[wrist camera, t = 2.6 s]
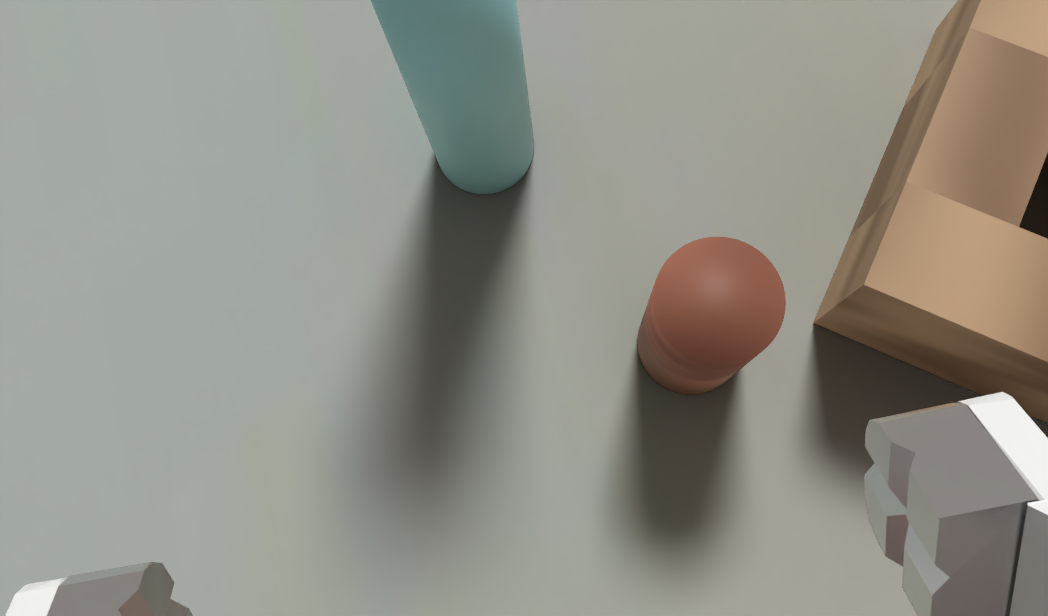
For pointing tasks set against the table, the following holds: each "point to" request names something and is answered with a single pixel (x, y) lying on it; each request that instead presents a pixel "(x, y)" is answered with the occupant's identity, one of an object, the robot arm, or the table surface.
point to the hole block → (960, 213)
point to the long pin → (465, 85)
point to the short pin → (709, 314)
